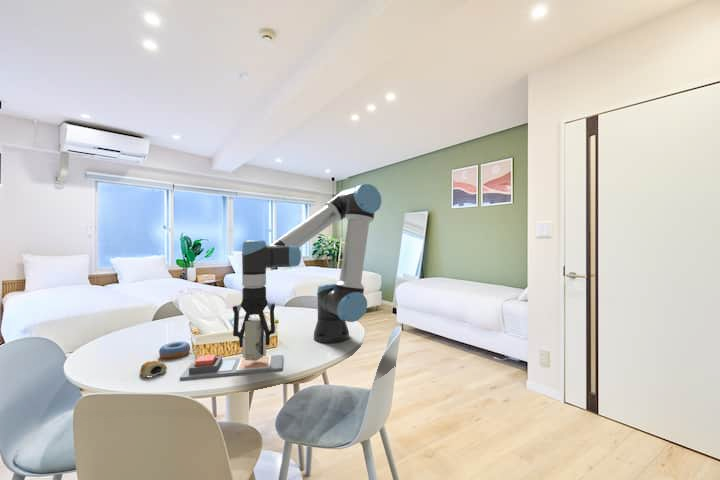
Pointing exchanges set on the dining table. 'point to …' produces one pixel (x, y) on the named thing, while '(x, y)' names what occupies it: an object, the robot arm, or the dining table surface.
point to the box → (253, 339)
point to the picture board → (233, 367)
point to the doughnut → (174, 350)
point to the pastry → (153, 368)
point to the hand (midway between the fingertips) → (254, 355)
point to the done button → (206, 360)
